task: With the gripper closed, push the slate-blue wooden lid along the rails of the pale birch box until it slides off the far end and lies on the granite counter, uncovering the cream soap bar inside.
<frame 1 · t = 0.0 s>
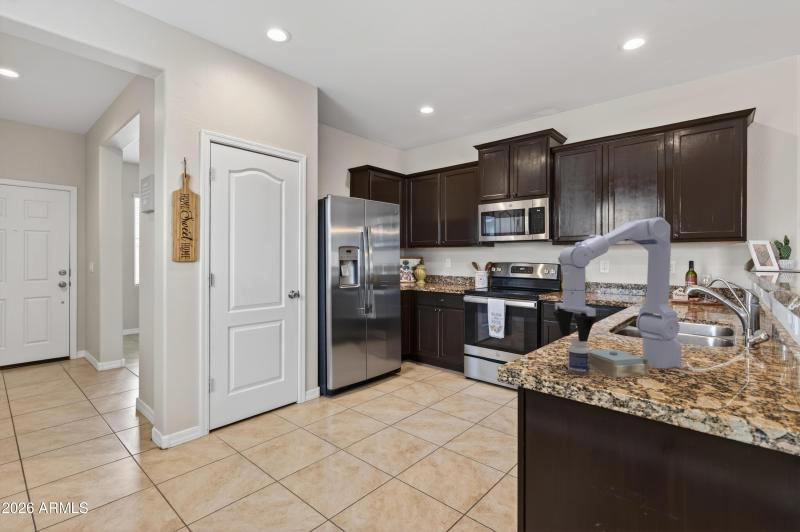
hand: (574, 338, 107), 10 cm above the countertop, fingers open, 7 cm apart
box: (613, 372, 109), on the countertop
lid: (613, 359, 108), point 4 cm above the countertop, touching box
pill bottle: (578, 374, 107), on the countertop
soap bar: (613, 369, 109), point 1 cm above the countertop, touching box
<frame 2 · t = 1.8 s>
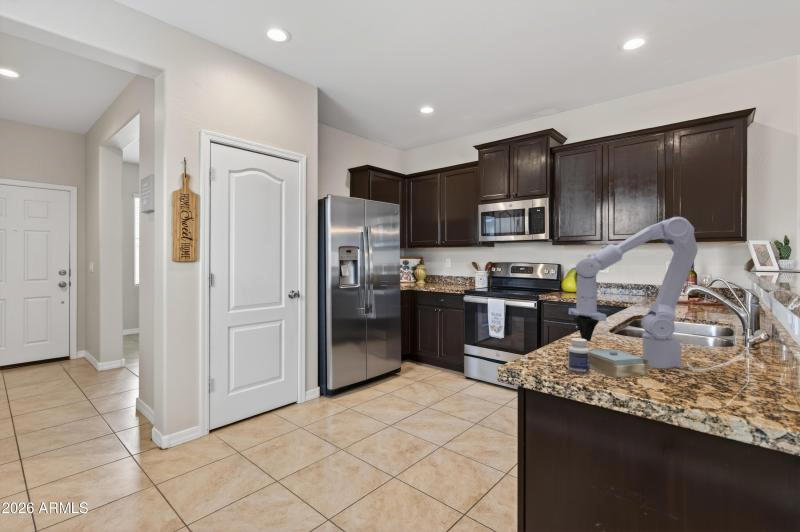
hand: (586, 340, 119), 7 cm above the countertop, fingers closed
nothing on the countertop moved.
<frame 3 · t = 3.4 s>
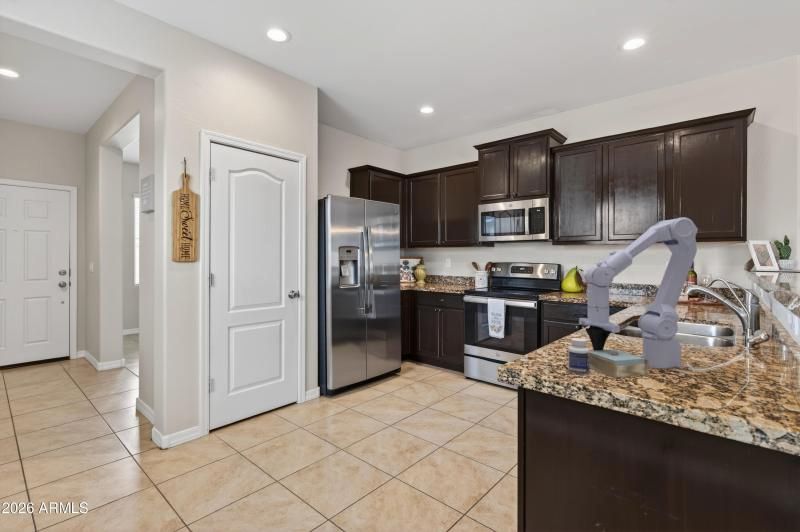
hand: (598, 352, 114), 4 cm above the countertop, fingers closed
lid: (614, 360, 108), point 4 cm above the countertop, touching gripper
everything else where it was.
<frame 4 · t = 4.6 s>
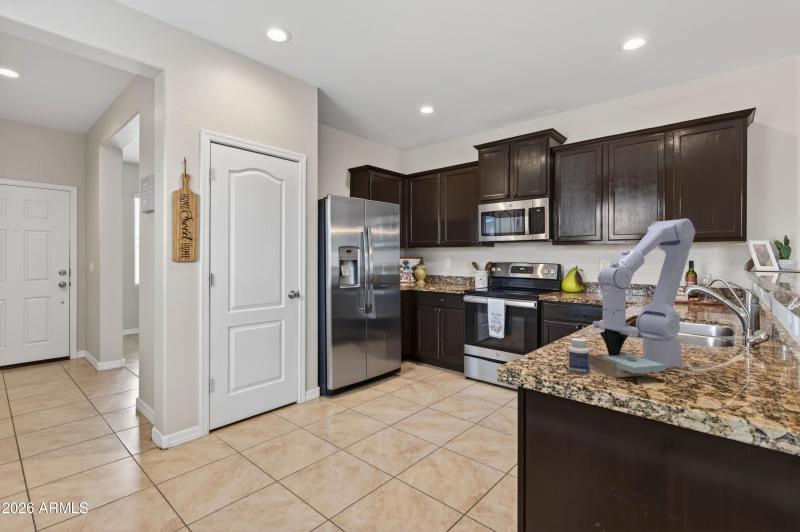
hand: (613, 357, 108), 4 cm above the countertop, fingers closed
lid: (632, 366, 102), point 4 cm above the countertop, touching box, gripper
everything else where it was.
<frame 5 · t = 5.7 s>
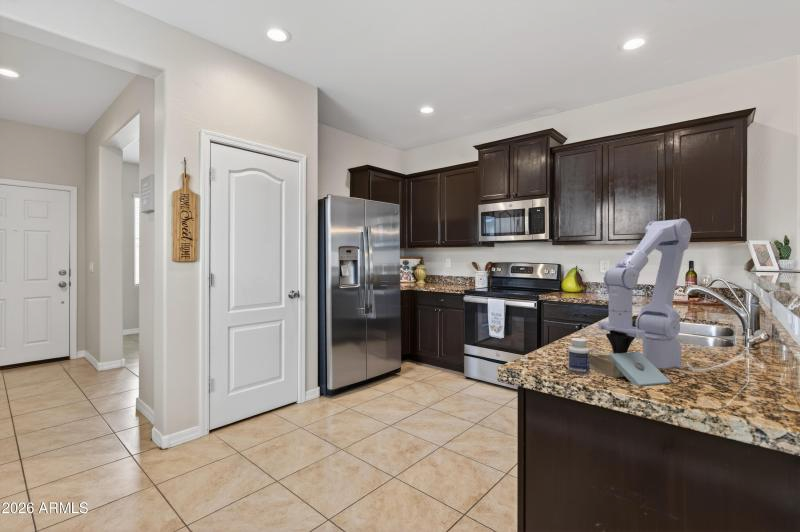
hand: (620, 359, 106), 4 cm above the countertop, fingers closed
lid: (637, 371, 100), point 3 cm above the countertop, tilted 28°, touching gripper
everything else where it was.
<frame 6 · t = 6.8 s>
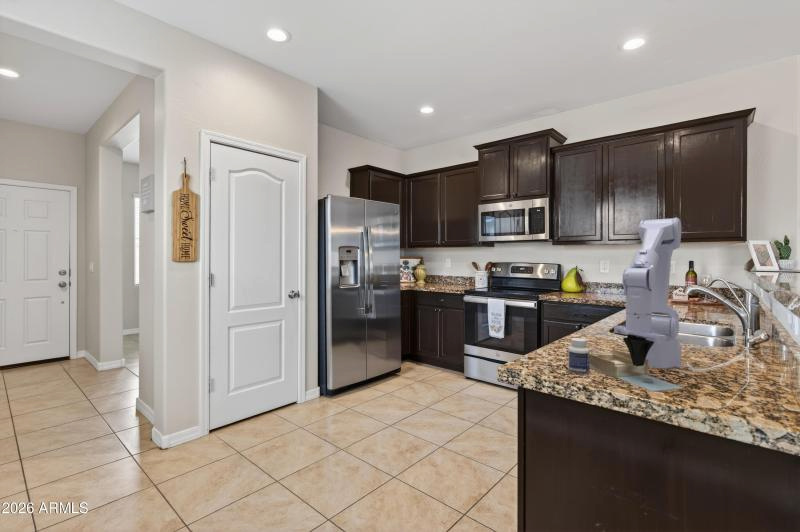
hand: (638, 365, 100), 4 cm above the countertop, fingers closed
lid: (648, 388, 97), on the countertop
everything else where it was.
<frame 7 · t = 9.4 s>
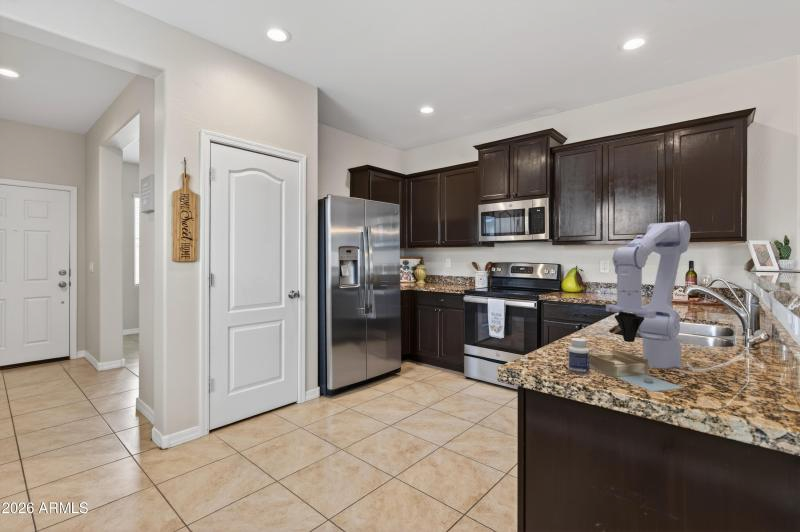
hand: (629, 341, 103), 10 cm above the countertop, fingers closed
nothing on the countertop moved.
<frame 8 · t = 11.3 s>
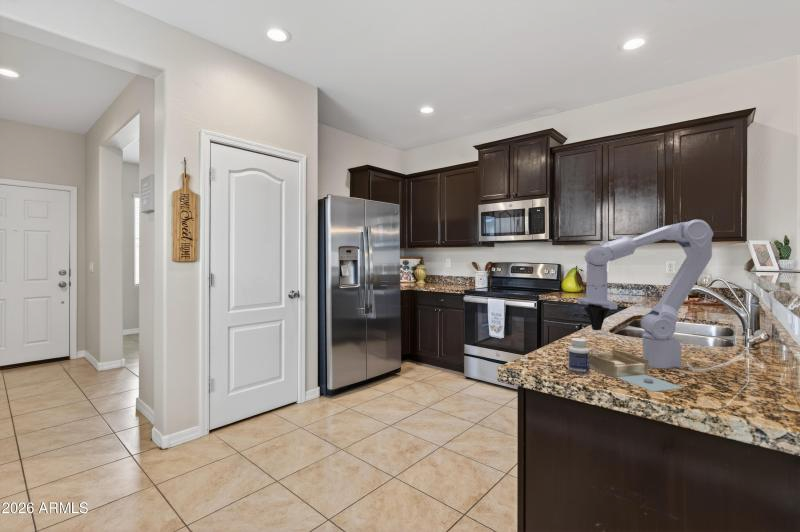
hand: (596, 329, 118), 10 cm above the countertop, fingers closed
nothing on the countertop moved.
at the end: lid inside the target area on the countertop beside the box (5.1 cm from its centre), on the countertop; lid moved 12.6 cm from its start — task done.
